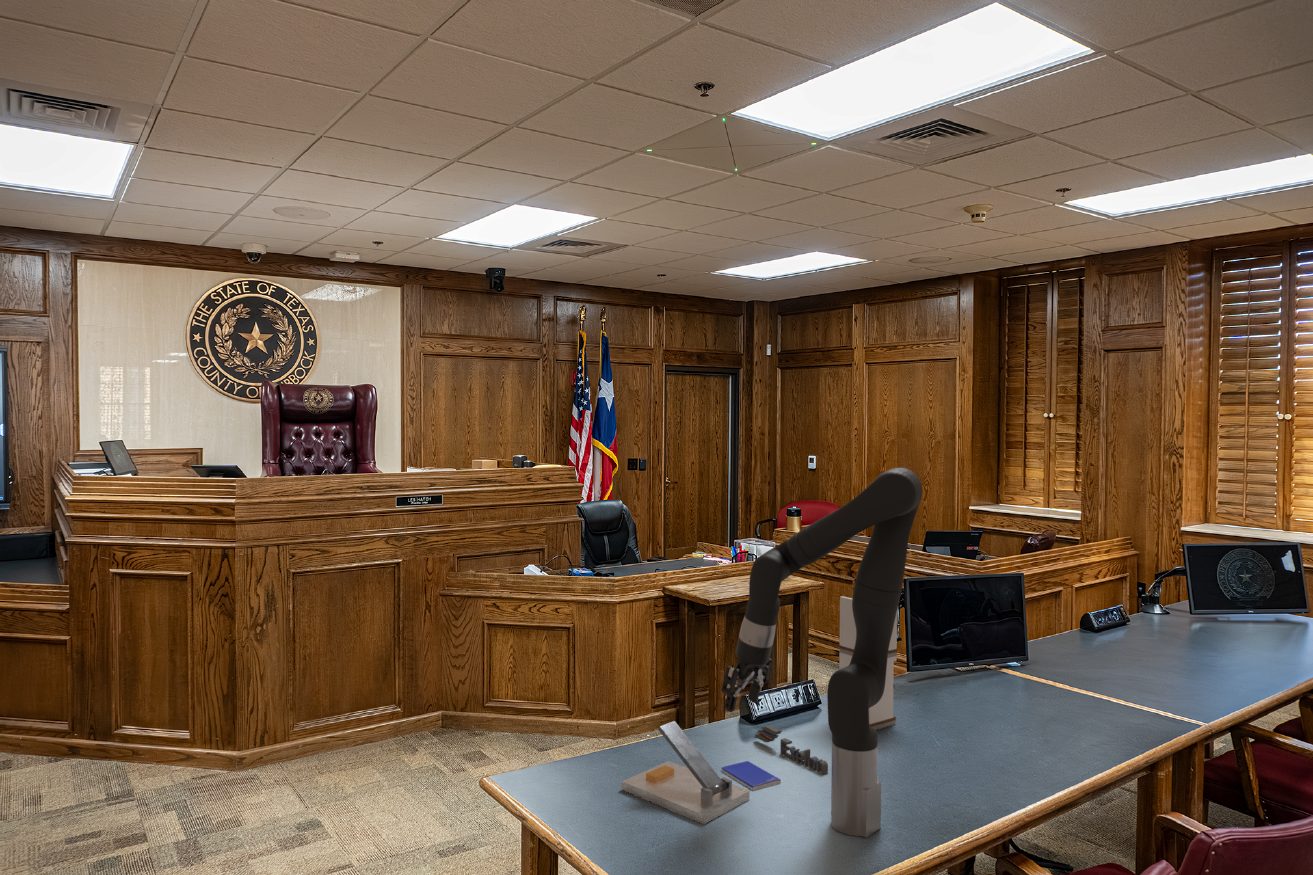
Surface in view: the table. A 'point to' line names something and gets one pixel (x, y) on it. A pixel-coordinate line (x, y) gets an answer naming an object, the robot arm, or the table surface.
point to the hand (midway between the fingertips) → (740, 705)
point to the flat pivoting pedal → (692, 758)
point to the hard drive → (750, 775)
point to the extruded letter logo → (793, 750)
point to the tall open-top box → (884, 708)
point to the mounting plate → (684, 792)
